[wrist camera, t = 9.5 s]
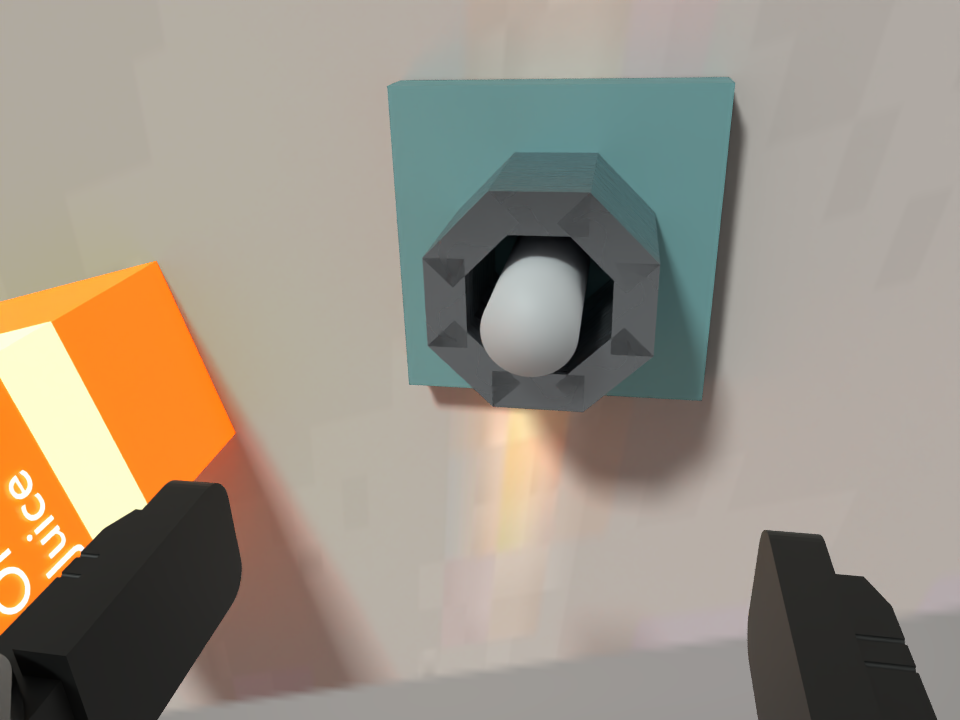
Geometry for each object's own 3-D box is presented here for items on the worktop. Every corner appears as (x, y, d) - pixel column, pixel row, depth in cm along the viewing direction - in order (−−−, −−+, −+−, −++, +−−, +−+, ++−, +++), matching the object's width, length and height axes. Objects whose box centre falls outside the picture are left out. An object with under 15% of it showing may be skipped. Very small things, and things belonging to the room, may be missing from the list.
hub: (659, 152, 23) (665, 193, 19) (646, 340, 26) (649, 415, 21) (457, 151, 24) (418, 190, 20) (464, 332, 27) (430, 403, 22)
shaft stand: (728, 77, 23) (771, 118, 16) (698, 380, 28) (721, 519, 20) (400, 80, 25) (308, 119, 18) (419, 366, 29) (350, 489, 22)
